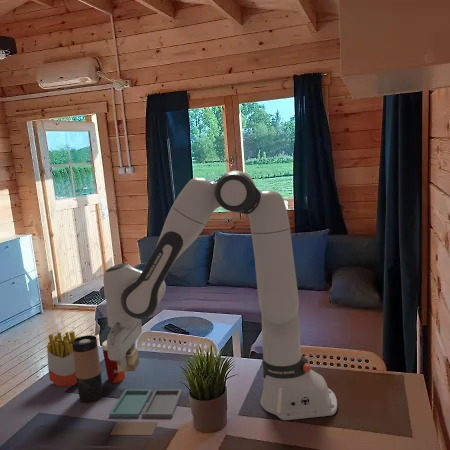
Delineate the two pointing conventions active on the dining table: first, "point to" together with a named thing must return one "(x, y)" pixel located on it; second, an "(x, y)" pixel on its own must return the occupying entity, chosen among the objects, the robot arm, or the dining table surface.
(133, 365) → the letter cube
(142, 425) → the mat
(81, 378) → the travel mug
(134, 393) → the teal bin
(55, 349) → the french fries container
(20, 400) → the dining table surface
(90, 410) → the dining table surface
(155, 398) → the gray bin
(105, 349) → the paper cup
